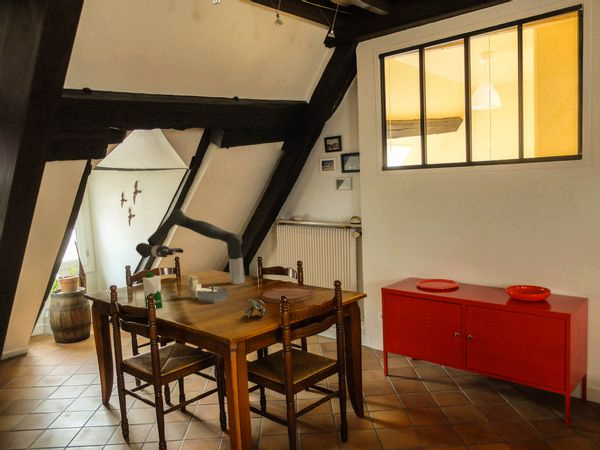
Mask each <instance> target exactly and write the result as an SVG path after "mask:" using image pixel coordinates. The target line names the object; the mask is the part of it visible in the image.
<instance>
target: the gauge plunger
mask: <svg viewBox="0 0 600 450" xmlns="http://www.w3.org/2000/svg"><path fill="white" fill-rule="evenodd" d="M213 286H214V283H211V285H210V287H211V288H212V289H209V288H206V287H202V284H201V283H198V285H195V297H197V298H198V290H204V291H212V292H215V291H218V290H215V289H213Z"/></svg>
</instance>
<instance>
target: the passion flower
mask: <svg viewBox="0 0 600 450" xmlns="http://www.w3.org/2000/svg"><path fill="white" fill-rule="evenodd" d="M258 301H260V303H258V302H257V301H255V300H253V299H249V300H248V303H249V304H250V306H249V307H248V308H246V309H245V308H244V307H243V306H241V311H243V310H244V314H243V316H244V317H245V315H246V314H248V317H247V319H249V318H250V316H252V314H253V313H254V311H256V310H257V312H260V315H261V317H265V315H264V314H266V309H265V308H264V307H263V306H262V305H266V304H265V303H264V302H265V301H263V300H262V299H259V300H258ZM261 304H262V305H261Z"/></svg>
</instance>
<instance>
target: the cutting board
mask: <svg viewBox="0 0 600 450" xmlns="http://www.w3.org/2000/svg"><path fill="white" fill-rule="evenodd" d="M281 296H285V297H286V298H287V300H288V302H289V303H288V304H297V303H301V302H306V301H309V300H311V299H313V298H314V297H316V293H315V291H313V289H311V288H309V287H304V286H285V287H275V288H272V289H268V290H266V291H264V292H263V294H262V295H261V299H260V300H261V301H263V302H266V303H271V304H279V302H280V297H281Z"/></svg>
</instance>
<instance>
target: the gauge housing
mask: <svg viewBox="0 0 600 450" xmlns="http://www.w3.org/2000/svg"><path fill="white" fill-rule="evenodd" d="M208 289H212V288H211V286H209V287H208ZM213 289H215V290H218V291H215V292H212V291H204V290H198V297H197V301H198V302H201V303H210V304H217V303H219V302H222V301H224V300H227V299H229V291H228V289H229V288H228V287H224V286H222V287H220V286H215V285H213Z"/></svg>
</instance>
